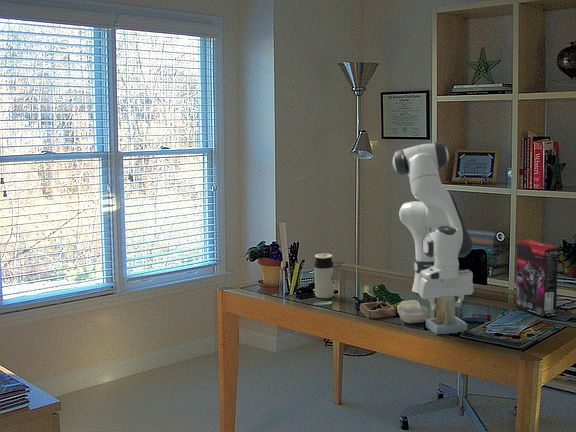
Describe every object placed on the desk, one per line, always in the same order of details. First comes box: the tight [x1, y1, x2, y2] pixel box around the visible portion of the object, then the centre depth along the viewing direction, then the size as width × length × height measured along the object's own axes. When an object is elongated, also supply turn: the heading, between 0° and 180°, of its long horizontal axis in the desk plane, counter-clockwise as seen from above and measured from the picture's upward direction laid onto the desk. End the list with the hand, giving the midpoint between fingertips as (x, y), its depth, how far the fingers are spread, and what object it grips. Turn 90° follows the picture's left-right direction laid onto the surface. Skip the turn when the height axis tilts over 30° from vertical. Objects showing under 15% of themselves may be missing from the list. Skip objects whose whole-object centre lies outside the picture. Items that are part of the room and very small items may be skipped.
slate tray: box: [425, 315, 468, 336], centre depth 290 cm, size 12×10×3 cm
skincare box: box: [435, 296, 456, 326], centre depth 289 cm, size 6×4×12 cm
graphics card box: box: [514, 239, 559, 316], centre depth 306 cm, size 17×7×27 cm, turn 23°
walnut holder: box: [359, 301, 397, 319], centre depth 312 cm, size 11×11×3 cm
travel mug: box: [313, 253, 335, 299], centre depth 338 cm, size 8×8×18 cm
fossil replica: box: [396, 299, 430, 324], centre depth 300 cm, size 12×8×10 cm
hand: (446, 308), depth 289 cm, fingers open, 8 cm apart
